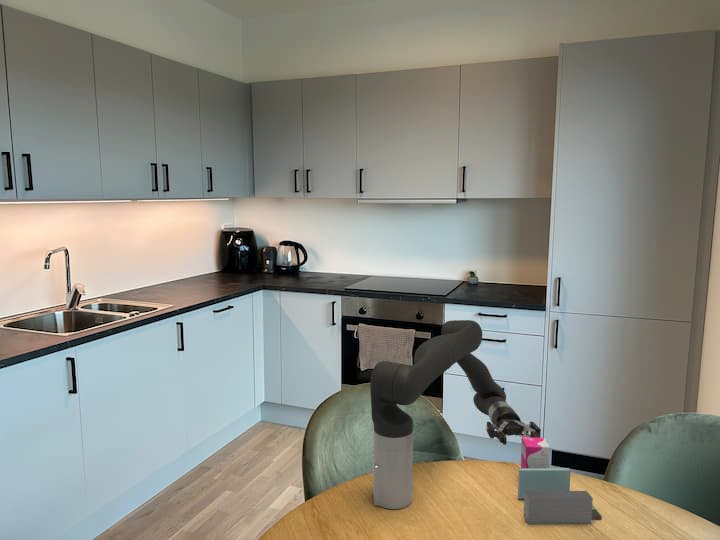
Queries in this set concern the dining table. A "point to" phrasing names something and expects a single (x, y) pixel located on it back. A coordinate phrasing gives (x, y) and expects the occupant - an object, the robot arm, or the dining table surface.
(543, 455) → the supplement box
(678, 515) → the dining table surface
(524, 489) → the gauge plate
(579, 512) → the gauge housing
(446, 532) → the dining table surface
